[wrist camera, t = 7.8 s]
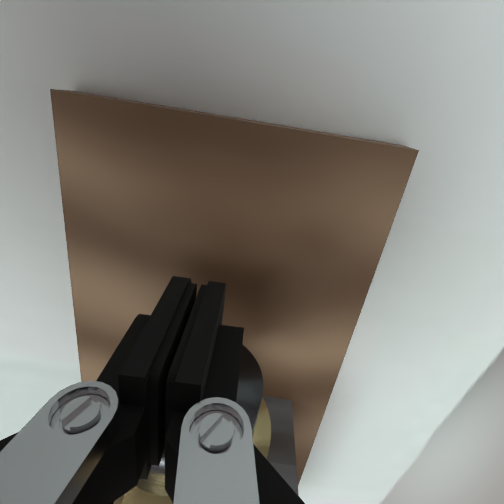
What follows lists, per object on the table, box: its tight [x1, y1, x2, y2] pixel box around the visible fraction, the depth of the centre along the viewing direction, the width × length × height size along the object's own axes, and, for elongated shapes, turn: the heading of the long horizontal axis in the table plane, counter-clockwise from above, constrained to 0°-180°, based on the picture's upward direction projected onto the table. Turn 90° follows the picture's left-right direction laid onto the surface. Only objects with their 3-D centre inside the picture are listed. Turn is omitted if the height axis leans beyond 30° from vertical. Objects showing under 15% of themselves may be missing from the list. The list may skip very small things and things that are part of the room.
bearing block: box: [50, 89, 419, 495], centre depth 13 cm, size 25×14×12 cm, turn 171°
